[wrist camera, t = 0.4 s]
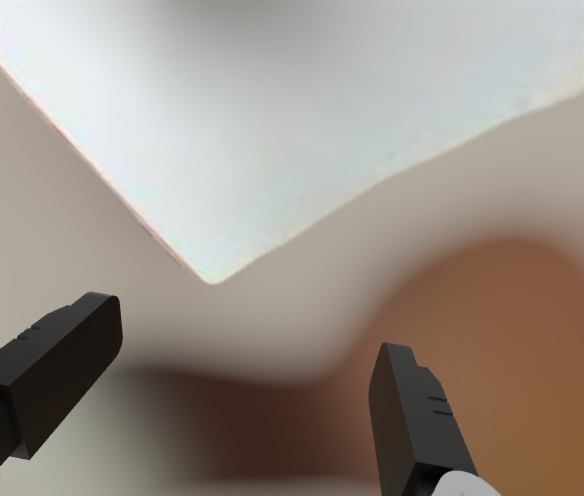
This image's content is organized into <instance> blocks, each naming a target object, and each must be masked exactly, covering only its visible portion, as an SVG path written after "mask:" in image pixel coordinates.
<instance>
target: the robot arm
mask: <svg viewBox="0 0 584 496" xmlns="http://www.w3.org/2000/svg"><path fill="white" fill-rule="evenodd" d="M122 341H123V334H122V322H121V311H120V301H119V299H118V297H116V296H113V295H108V294H101V293H96V292H88V293H86V294H85V295H84V296H82V297H81V298H80V299H78V300H77V301H76V302H74V303H73V304H72V305H71V306H69V305H67V306H65V307H62V308H60V309H57V310H55V311H53V312H51V313H48V314H47V315H45V316H44V317H42V318H41V319H40V320H38V321H37V322H36V323H34V324H33V325H32V326H31V328H30V329H29V328H28V329H26V330H25V331H24V332H22V333H21V334H20V335H18V337H17V339H13V340H12V341H10V342H9V343H7V344H6V345H5V346H4V347H2V348H1V349H0V466H1V465H2V464H3V463H4V461H5V460H6V459H7V458H8V457H9V456H11V457H16V458H21V459H27V460H30V459H31V458H32V457H33V455H34V454H35V453H36V452H37V451H38V450H39V448H40V447H41V446H42V445H43V443H44V442H45V441H46V440H47V439H48V438H49V436H50V435H51V434H52V433H53V432H54V430H55V429H56V428H57V427H58V426H59V425H60V423H61V422H62V421H63V420H64V419H65V417H66V416H67V415H68V414H69V413H70V411H71V410H72V409H73V408H74V407H75V406H76V404H77V403H78V402H79V401H80V399H81V398H82V397H83V396H84V395H85V394H86V392H87V391H88V390H89V389H90V388H91V386H92V385H93V384H94V383H95V382H96V381H97V379H98V378H99V377H100V376H101V375H102V373H103V372H104V371H105V370H106V369H107V367H108V366H109V365H110V364H111V363H112V361H113V360H114V359H115V358H116V356H117V355H118V353H119V351H120V348H121V345H122ZM369 409H370V415H371V422H372V430H373V437H374V444H375V451H376V458H377V465H378V472H379V479H380V486H381V494H382V496H501V495H500V494H499V493H498V492H497V491H496V490H495V489H494V488H493V487H492V486H490V485H489V484H488V483H486V482H485V481H484V480H482V479H481V478H479V476H478V474H477V471H476V469H475V466H474V464H473V461H472V459H471V456H470V454H469V452H468V449H467V447H466V444H465V442H464V439H463V437H462V435H461V432H460V430H459V427H458V425H457V422H456V420H455V418H454V417H453V413H452V410H451V408H450V405H449V403H447V398H446V396H445V393H444V391H443V388H442V386H441V383H440V382H439V381H438V380H437V379H436V377H435V376H434V375H433V374H432V373H431V372H430V370H429V369H428V368H425V367H420V366H417V363H416V360H415V358H414V355H413V352H412V349H411V348H410V347H409V346H404V345H398V344H392V343H386V342H384V343H383V344H382V345H381V347H380V351H379V354H378V357H377V361H376V364H375V367H374V370H373V374H372V377H371V381H370V385H369Z"/></svg>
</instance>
